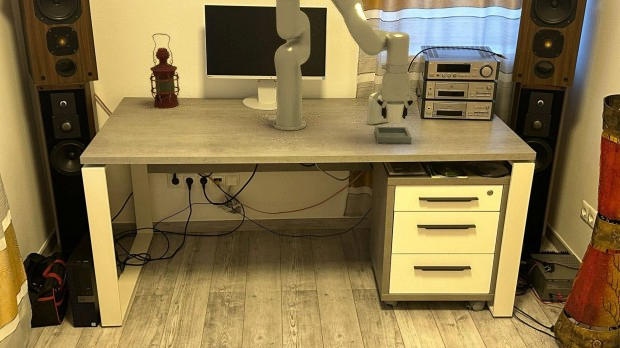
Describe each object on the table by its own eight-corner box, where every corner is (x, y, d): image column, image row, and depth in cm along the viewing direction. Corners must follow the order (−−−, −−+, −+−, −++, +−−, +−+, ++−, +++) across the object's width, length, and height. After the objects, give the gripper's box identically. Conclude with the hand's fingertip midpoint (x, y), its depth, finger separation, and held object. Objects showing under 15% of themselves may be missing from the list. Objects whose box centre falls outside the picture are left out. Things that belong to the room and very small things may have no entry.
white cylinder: (398, 124, 225) (399, 105, 222) (381, 121, 228) (381, 102, 226) (406, 119, 230) (407, 101, 228) (389, 116, 234) (390, 98, 231)
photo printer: (385, 118, 254) (387, 88, 250) (392, 121, 251) (394, 91, 246) (365, 123, 249) (366, 92, 244) (372, 125, 246) (373, 94, 241)
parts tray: (377, 143, 226) (377, 137, 225) (374, 133, 238) (374, 126, 237) (411, 144, 226) (411, 137, 226) (406, 133, 238) (406, 127, 237)
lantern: (185, 102, 274) (181, 31, 262) (173, 110, 263) (168, 36, 251) (159, 100, 276) (153, 30, 265) (146, 107, 265) (140, 35, 254)
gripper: (372, 70, 219) (370, 120, 226) (423, 71, 219) (419, 121, 226) (371, 66, 226) (369, 114, 232) (419, 66, 226) (416, 114, 232)
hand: (394, 117), depth 229 cm, fingers closed on white cylinder, 6 cm apart
